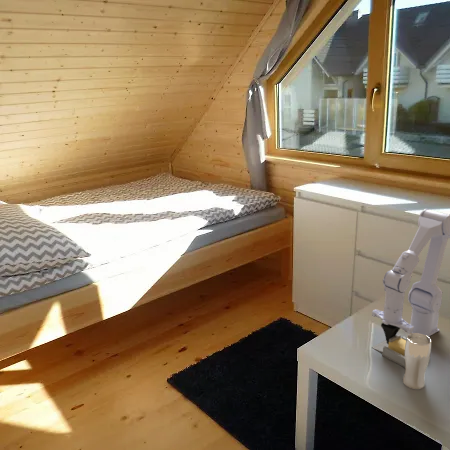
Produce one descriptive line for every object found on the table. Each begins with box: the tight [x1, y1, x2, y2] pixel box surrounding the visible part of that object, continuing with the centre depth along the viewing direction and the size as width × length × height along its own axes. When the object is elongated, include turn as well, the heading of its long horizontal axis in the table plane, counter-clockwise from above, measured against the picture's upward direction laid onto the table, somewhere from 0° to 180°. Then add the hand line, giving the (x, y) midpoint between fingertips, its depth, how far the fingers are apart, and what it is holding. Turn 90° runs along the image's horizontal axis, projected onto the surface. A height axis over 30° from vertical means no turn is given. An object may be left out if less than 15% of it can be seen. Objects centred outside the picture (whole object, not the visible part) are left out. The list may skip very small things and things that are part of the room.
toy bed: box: [388, 333, 406, 356], centre depth 151 cm, size 8×5×4 cm, turn 34°
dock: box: [371, 335, 407, 369], centre depth 153 cm, size 14×11×4 cm
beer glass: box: [402, 333, 432, 390], centre depth 136 cm, size 7×7×15 cm
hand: (389, 342), depth 155 cm, fingers closed
